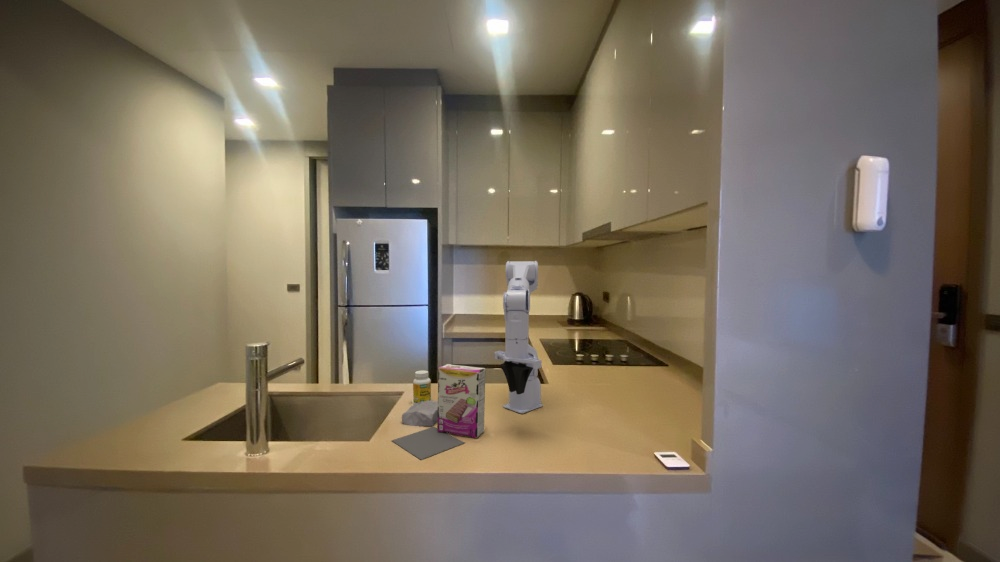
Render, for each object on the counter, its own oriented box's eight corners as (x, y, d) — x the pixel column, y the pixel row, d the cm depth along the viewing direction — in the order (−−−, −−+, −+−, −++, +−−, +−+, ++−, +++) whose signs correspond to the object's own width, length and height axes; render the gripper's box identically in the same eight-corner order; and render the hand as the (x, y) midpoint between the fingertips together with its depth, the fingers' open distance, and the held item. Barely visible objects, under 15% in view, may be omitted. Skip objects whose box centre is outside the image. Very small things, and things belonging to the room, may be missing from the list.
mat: (433, 427, 103) (433, 426, 103) (464, 443, 94) (464, 442, 94) (391, 441, 95) (391, 440, 95) (420, 460, 86) (420, 459, 86)
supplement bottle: (424, 398, 126) (424, 368, 126) (434, 402, 122) (434, 371, 122) (409, 402, 122) (409, 371, 122) (419, 407, 119) (419, 375, 118)
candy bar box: (436, 432, 99) (437, 367, 99) (445, 425, 104) (446, 363, 104) (477, 439, 96) (478, 371, 96) (485, 431, 100) (486, 367, 100)
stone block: (399, 432, 105) (434, 427, 103) (396, 414, 105) (431, 409, 103) (417, 417, 117) (449, 413, 115) (414, 401, 117) (446, 396, 115)
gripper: (485, 336, 101) (485, 389, 102) (527, 344, 91) (527, 403, 91) (505, 333, 106) (505, 383, 107) (547, 340, 95) (547, 396, 96)
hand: (516, 392), depth 99 cm, fingers closed
